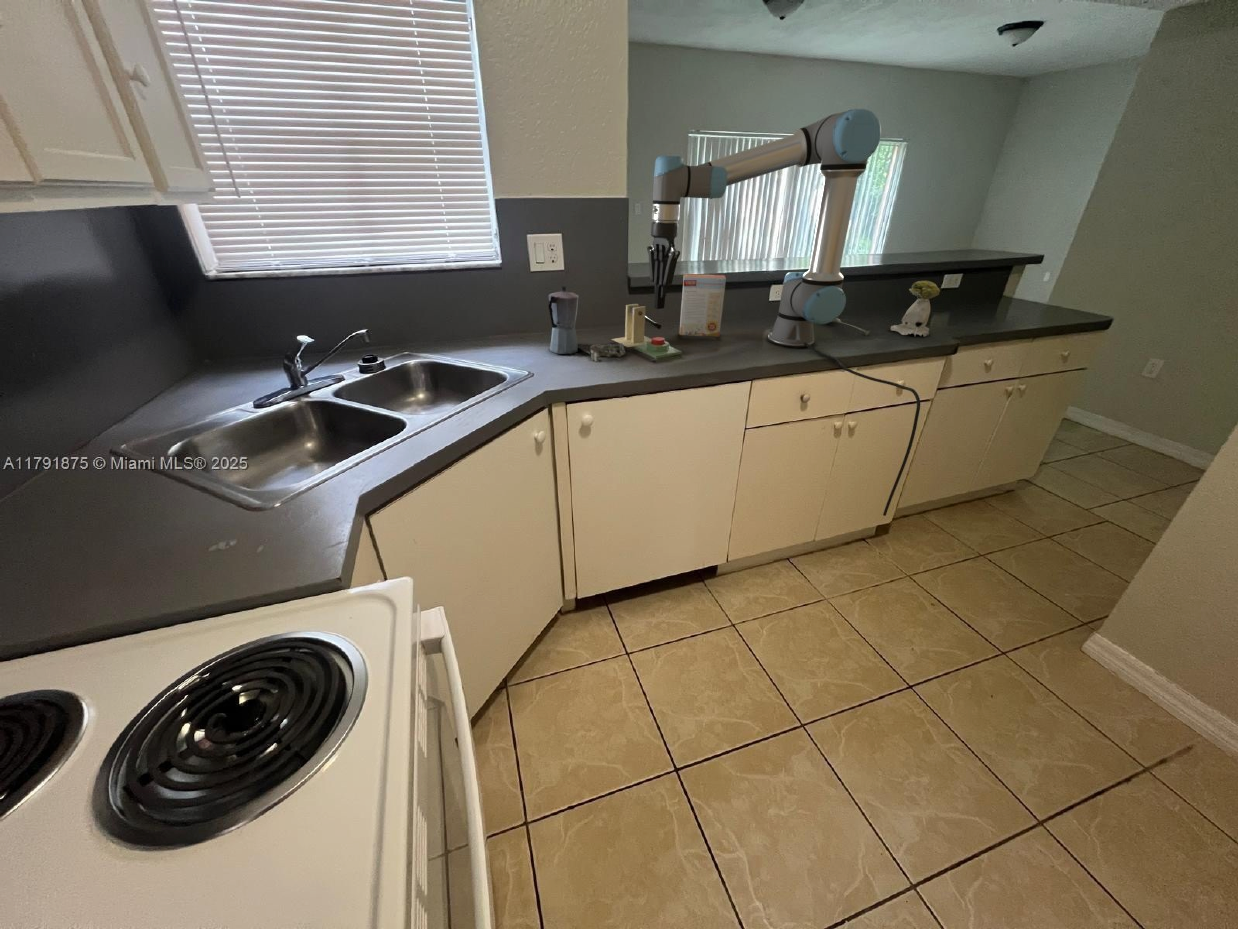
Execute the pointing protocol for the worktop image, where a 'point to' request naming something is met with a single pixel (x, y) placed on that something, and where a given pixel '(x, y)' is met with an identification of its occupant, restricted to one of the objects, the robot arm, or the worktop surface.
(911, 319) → the grey and green figure
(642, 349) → the button box
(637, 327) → the bracket
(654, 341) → the button
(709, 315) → the cracker box
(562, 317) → the moka pot
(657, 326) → the toaster lever
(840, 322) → the soupspoon
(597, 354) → the mottled toad figurine
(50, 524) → the worktop surface
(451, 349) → the worktop surface
